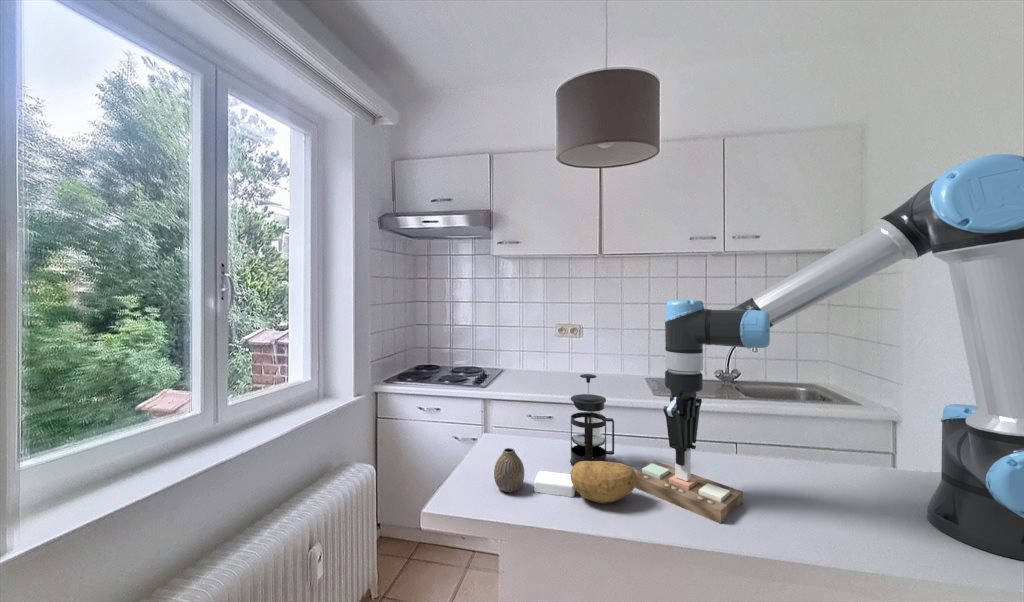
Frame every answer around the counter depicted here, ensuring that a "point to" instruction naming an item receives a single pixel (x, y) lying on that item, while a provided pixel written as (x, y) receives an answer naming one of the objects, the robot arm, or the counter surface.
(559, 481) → the soap
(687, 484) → the terracotta button
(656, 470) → the sage button
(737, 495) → the console
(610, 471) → the potato
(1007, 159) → the robot arm
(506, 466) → the vase
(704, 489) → the cream button
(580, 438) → the french press
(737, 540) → the counter surface
